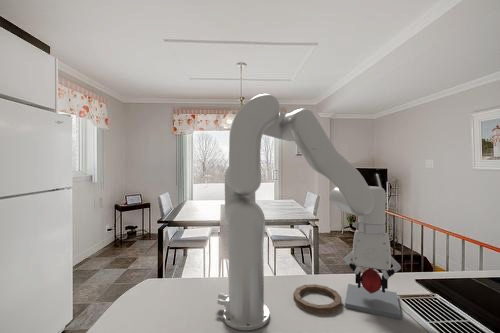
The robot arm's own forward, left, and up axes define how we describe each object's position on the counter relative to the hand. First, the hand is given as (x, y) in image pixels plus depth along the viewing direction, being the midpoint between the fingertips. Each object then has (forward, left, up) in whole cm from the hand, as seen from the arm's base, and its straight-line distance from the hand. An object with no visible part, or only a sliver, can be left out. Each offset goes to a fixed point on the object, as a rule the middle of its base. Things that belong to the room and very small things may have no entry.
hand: (371, 287), depth 76 cm
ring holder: (-15, -6, -4) cm, 16 cm away
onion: (0, 0, -2) cm, 2 cm away
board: (0, 0, -4) cm, 4 cm away
